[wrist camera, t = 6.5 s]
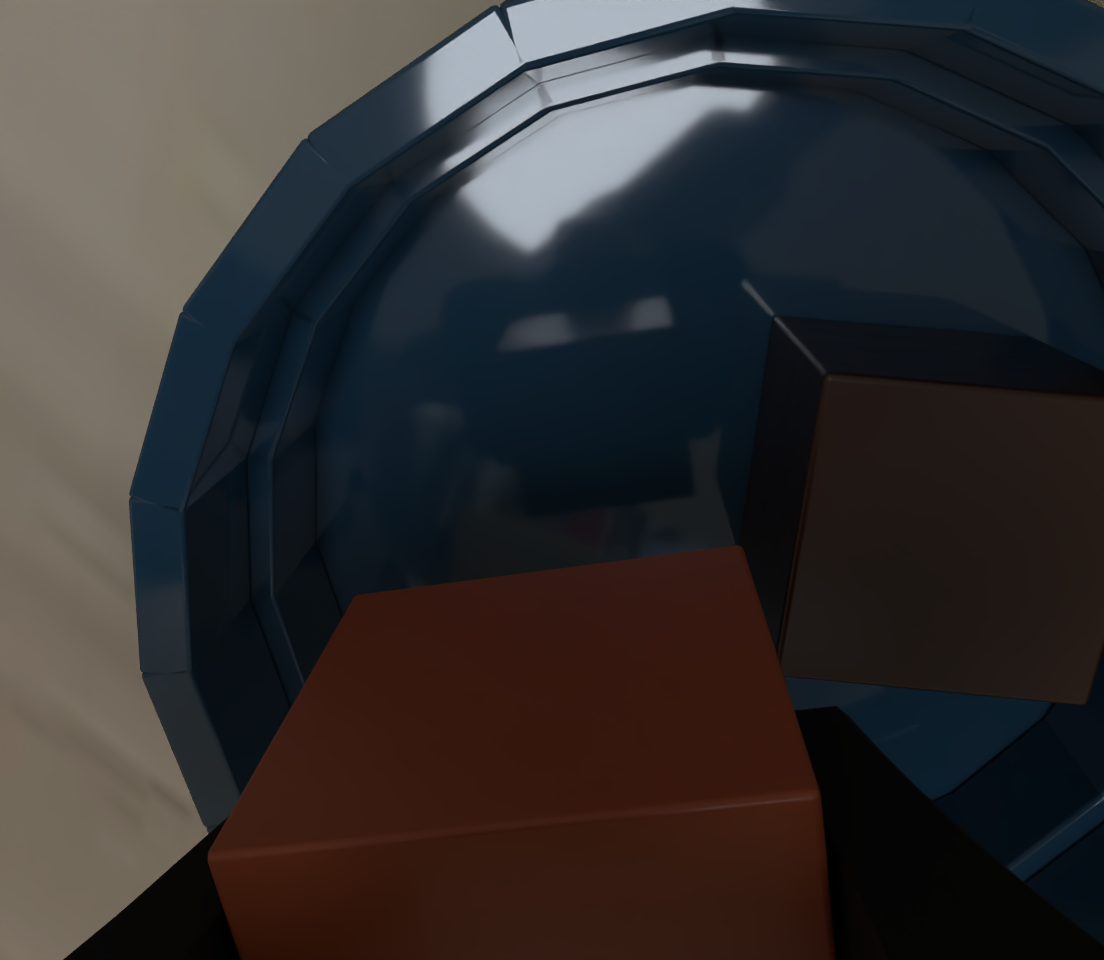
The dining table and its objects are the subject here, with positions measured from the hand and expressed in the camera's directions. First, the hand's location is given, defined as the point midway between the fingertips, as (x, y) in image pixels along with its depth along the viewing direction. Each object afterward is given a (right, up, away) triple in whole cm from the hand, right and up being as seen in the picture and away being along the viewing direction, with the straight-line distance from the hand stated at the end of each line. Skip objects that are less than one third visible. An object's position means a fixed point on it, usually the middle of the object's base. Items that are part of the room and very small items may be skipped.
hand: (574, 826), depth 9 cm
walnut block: (+5, +4, +6) cm, 9 cm away
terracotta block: (0, 0, +1) cm, 1 cm away
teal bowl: (+3, +3, +7) cm, 8 cm away
